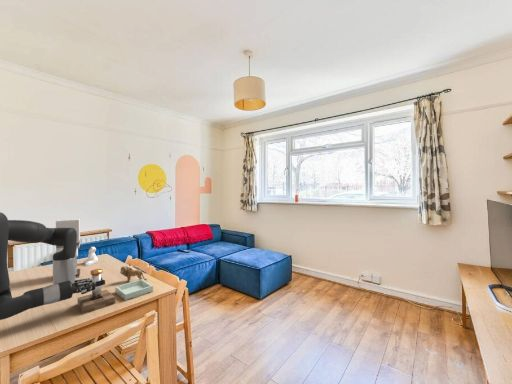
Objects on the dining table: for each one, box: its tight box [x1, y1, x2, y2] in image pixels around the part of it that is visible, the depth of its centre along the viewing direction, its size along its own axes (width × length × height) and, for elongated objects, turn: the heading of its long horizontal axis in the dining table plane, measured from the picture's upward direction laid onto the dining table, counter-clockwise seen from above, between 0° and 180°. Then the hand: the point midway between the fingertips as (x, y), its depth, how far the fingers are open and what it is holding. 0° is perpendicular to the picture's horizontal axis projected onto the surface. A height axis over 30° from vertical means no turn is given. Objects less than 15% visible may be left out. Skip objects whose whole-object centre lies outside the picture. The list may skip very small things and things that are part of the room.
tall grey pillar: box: [55, 217, 81, 279], centre depth 144 cm, size 11×11×35 cm
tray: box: [114, 278, 154, 301], centre depth 123 cm, size 14×14×3 cm
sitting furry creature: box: [82, 246, 99, 267], centre depth 169 cm, size 10×9×12 cm
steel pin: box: [89, 268, 103, 301], centre depth 111 cm, size 5×5×14 cm
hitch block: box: [77, 289, 116, 314], centre depth 111 cm, size 12×12×3 cm
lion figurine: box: [119, 265, 147, 283], centre depth 138 cm, size 15×5×9 cm, turn 97°
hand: (103, 280), depth 113 cm, fingers closed on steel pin, 3 cm apart
